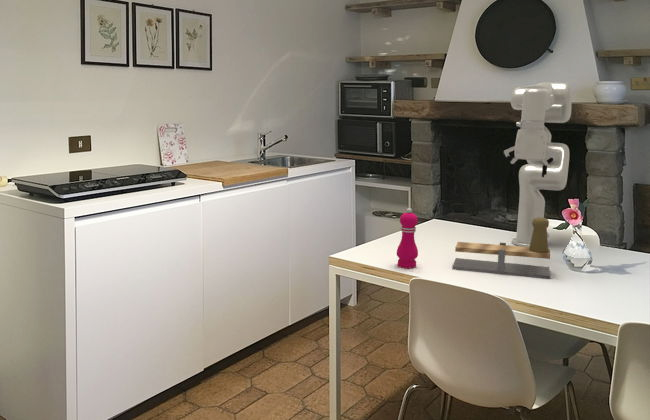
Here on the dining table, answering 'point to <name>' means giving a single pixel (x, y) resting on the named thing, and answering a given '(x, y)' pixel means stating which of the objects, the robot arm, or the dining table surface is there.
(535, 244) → the cork
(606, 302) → the dining table surface
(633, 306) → the dining table surface
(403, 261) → the pepper mill
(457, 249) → the beam
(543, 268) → the stand
